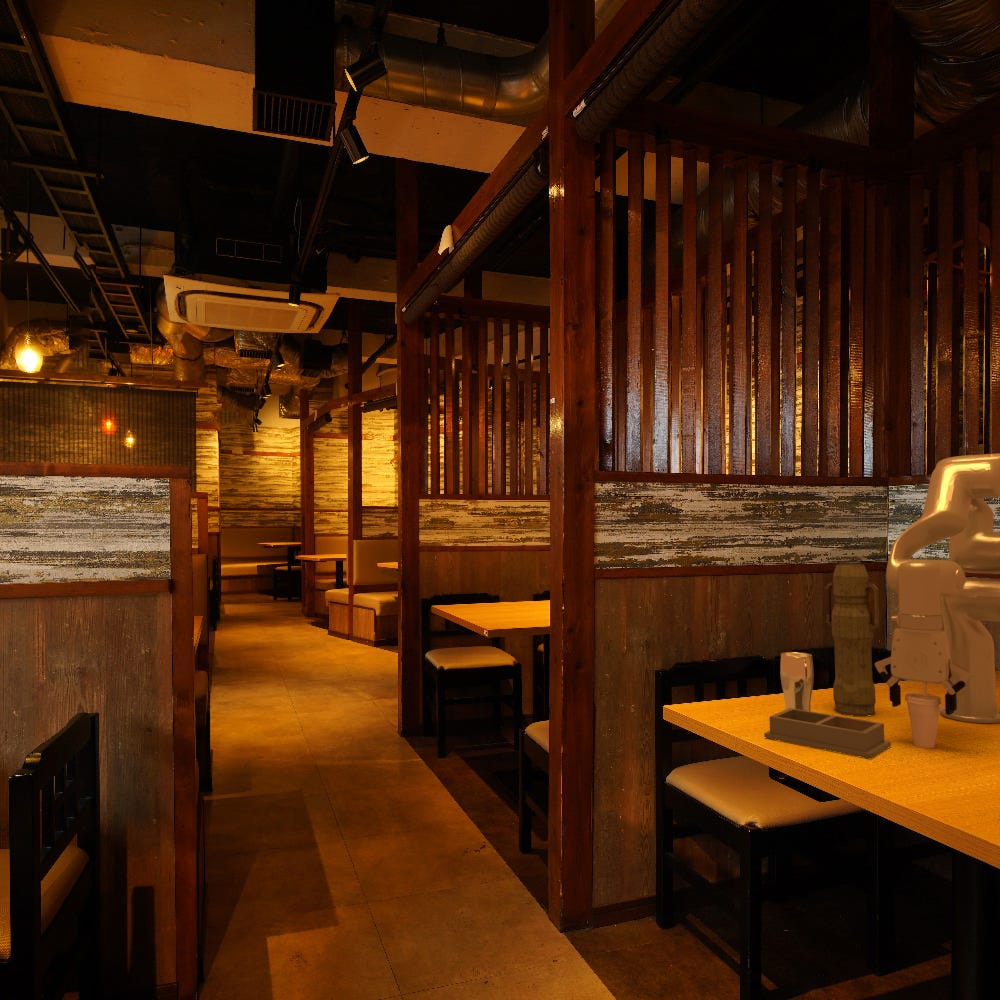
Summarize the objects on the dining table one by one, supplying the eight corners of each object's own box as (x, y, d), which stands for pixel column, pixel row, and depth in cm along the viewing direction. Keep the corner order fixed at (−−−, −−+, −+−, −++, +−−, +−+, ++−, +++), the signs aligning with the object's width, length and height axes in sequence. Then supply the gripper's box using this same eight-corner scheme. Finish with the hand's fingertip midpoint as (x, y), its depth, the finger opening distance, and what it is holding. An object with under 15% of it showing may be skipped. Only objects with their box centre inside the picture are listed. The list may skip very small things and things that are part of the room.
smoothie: (930, 751, 145) (927, 679, 146) (899, 743, 151) (896, 673, 151) (950, 747, 148) (947, 675, 148) (919, 739, 154) (916, 670, 154)
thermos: (831, 705, 183) (827, 561, 185) (885, 711, 176) (880, 562, 178) (823, 712, 176) (818, 563, 177) (878, 719, 169) (873, 564, 170)
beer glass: (817, 726, 164) (816, 657, 165) (784, 724, 166) (782, 656, 166) (811, 718, 171) (809, 652, 172) (779, 717, 173) (777, 651, 173)
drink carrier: (787, 727, 164) (787, 706, 164) (890, 746, 149) (890, 723, 149) (764, 738, 156) (763, 716, 156) (870, 759, 141) (869, 735, 141)
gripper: (868, 621, 154) (870, 705, 153) (964, 628, 141) (967, 720, 141) (880, 618, 159) (883, 700, 158) (974, 625, 147) (977, 713, 146)
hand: (922, 709), depth 149 cm, fingers open, 9 cm apart
